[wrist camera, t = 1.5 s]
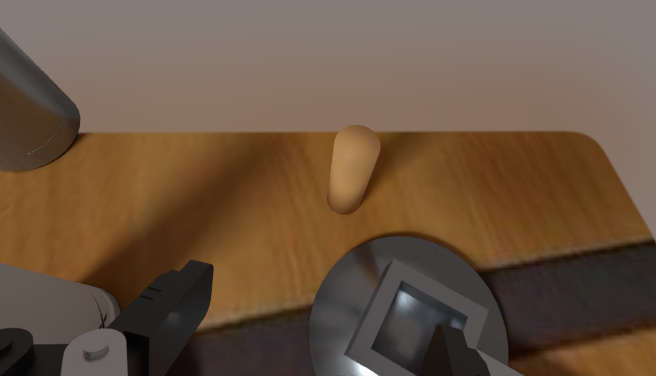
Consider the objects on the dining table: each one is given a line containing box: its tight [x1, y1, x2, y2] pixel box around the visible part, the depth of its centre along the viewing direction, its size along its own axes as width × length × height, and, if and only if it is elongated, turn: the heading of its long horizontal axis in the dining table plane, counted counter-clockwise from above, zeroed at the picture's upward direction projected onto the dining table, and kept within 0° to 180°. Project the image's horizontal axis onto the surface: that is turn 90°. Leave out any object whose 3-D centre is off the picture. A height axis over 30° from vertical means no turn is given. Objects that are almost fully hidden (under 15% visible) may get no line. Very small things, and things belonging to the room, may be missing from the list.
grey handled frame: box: [309, 236, 524, 376], centre depth 27 cm, size 22×16×4 cm
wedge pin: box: [327, 125, 381, 214], centre depth 29 cm, size 3×3×10 cm
